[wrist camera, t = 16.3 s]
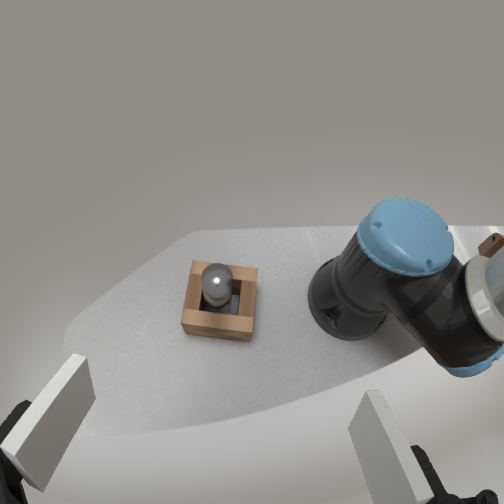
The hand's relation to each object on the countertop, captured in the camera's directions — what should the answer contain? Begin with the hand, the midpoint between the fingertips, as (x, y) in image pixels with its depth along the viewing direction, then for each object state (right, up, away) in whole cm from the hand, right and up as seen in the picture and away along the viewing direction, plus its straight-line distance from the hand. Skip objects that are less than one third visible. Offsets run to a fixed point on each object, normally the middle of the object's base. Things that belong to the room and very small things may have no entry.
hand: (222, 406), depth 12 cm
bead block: (-4, -2, +35) cm, 35 cm away
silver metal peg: (-4, -2, +35) cm, 35 cm away
